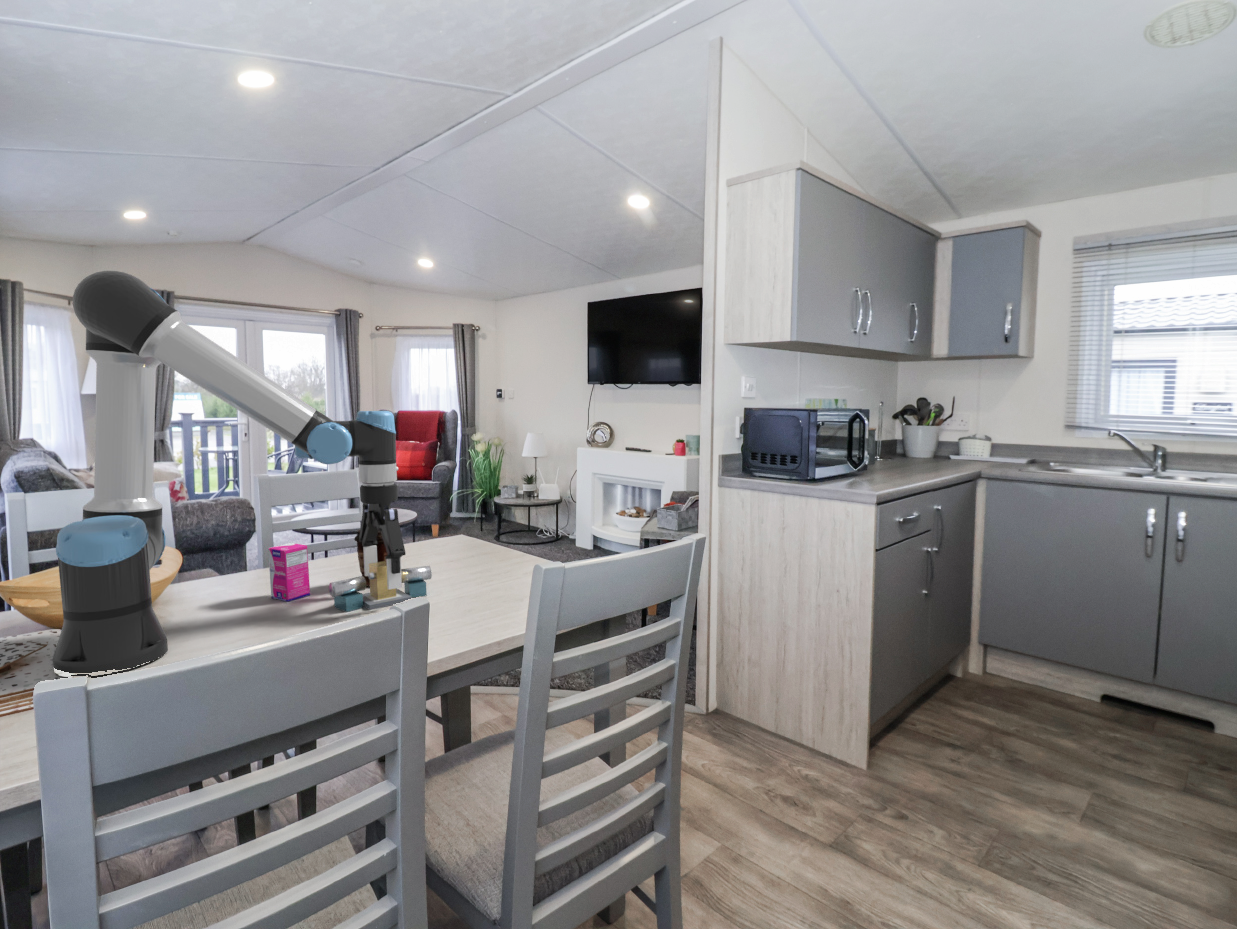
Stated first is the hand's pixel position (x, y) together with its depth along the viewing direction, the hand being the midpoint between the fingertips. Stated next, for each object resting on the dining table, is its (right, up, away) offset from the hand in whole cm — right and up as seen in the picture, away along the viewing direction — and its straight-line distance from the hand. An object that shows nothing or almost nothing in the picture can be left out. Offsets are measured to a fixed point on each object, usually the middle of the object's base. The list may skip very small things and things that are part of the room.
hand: (382, 581), depth 141 cm
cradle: (0, -4, 0) cm, 4 cm away
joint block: (0, -3, 0) cm, 3 cm away
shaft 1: (-6, -5, -4) cm, 8 cm away
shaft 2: (+6, -4, +5) cm, 8 cm away
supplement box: (-21, -4, +3) cm, 22 cm away
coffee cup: (-6, -3, +13) cm, 15 cm away
